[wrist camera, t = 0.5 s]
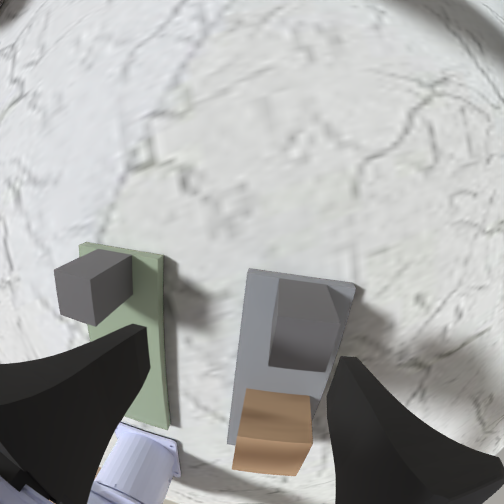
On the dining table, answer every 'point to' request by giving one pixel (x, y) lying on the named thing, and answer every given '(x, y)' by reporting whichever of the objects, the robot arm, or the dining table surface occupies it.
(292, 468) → the walnut block
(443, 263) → the dining table surface
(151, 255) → the olive strip
